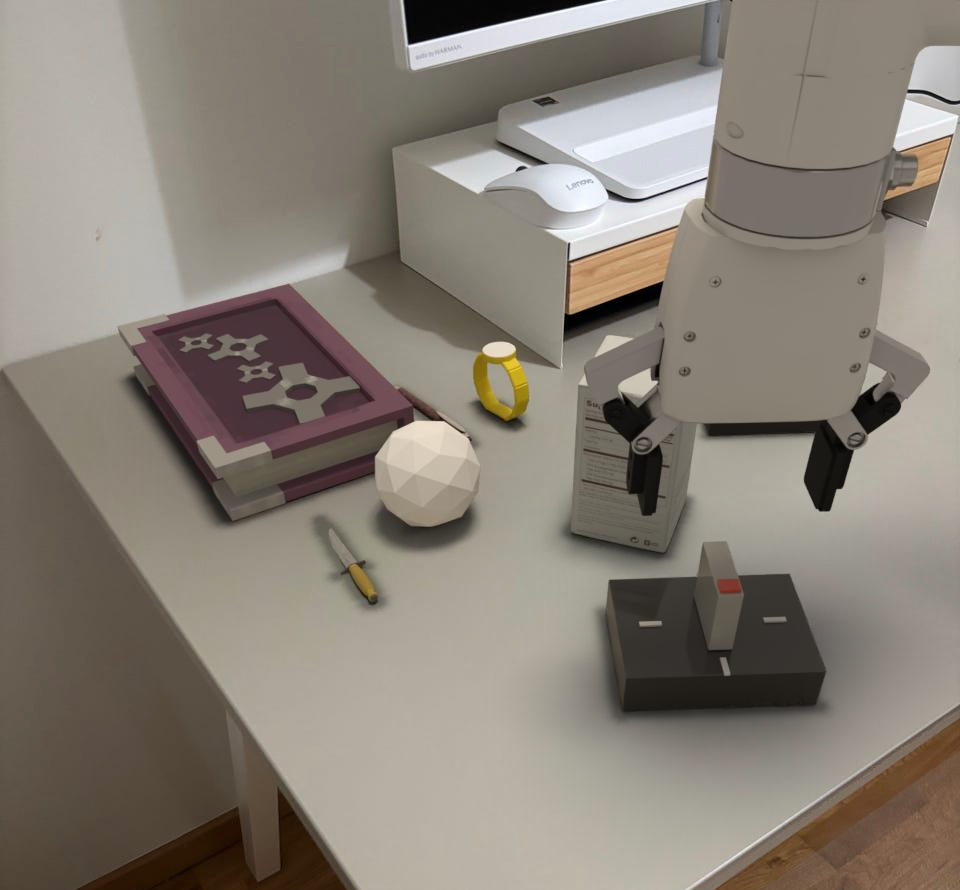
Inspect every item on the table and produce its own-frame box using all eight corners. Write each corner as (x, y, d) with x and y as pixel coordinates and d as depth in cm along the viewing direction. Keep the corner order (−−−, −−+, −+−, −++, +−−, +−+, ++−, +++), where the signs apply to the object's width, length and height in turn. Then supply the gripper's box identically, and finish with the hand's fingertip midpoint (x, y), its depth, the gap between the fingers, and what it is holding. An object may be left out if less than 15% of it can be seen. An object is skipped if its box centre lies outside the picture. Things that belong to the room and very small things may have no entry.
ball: (435, 526, 81) (467, 428, 79) (476, 551, 74) (512, 444, 72) (347, 501, 77) (378, 398, 75) (382, 525, 70) (417, 413, 69)
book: (132, 377, 93) (117, 326, 89) (296, 331, 99) (288, 282, 95) (228, 523, 77) (215, 468, 74) (417, 459, 83) (413, 405, 79)
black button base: (804, 381, 90) (813, 340, 87) (829, 431, 84) (839, 388, 82) (691, 385, 90) (697, 344, 87) (708, 435, 84) (715, 392, 81)
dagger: (307, 523, 77) (331, 511, 77) (312, 532, 77) (335, 520, 78) (359, 601, 70) (385, 587, 70) (363, 610, 70) (389, 596, 70)
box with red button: (693, 596, 66) (703, 538, 62) (716, 595, 66) (727, 537, 62) (707, 650, 62) (719, 592, 59) (732, 650, 62) (745, 591, 59)
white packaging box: (595, 479, 80) (606, 330, 71) (688, 498, 78) (711, 348, 69) (566, 534, 75) (574, 382, 66) (665, 556, 73) (686, 402, 64)
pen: (474, 443, 84) (474, 432, 84) (467, 446, 84) (466, 436, 83) (397, 388, 91) (396, 378, 90) (390, 391, 90) (389, 381, 90)
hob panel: (781, 605, 69) (790, 570, 67) (817, 706, 63) (828, 670, 61) (605, 611, 69) (608, 576, 67) (622, 712, 63) (626, 677, 60)
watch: (535, 422, 86) (537, 358, 82) (510, 433, 85) (510, 369, 81) (492, 393, 90) (491, 330, 85) (467, 404, 88) (464, 341, 84)
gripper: (955, 151, 48) (863, 458, 60) (589, 158, 48) (569, 464, 60) (1021, 213, 43) (905, 537, 54) (608, 221, 42) (582, 545, 54)
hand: (730, 499), depth 57 cm, fingers open, 9 cm apart
